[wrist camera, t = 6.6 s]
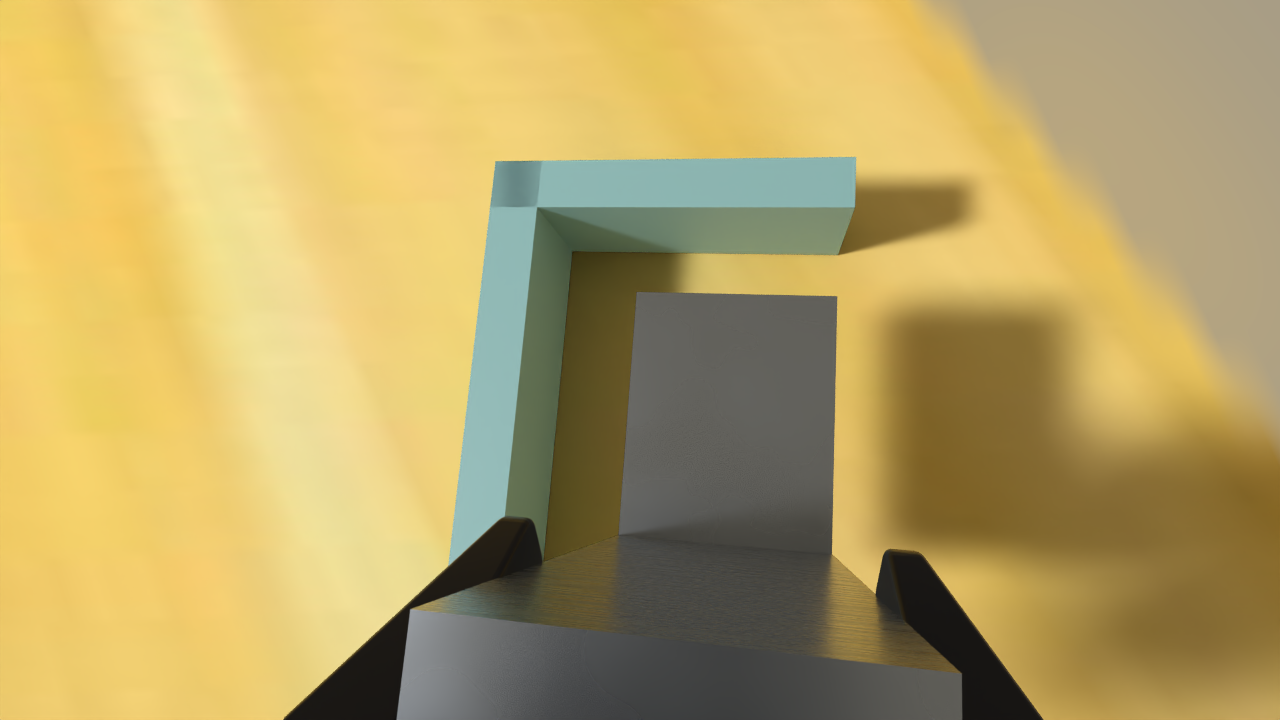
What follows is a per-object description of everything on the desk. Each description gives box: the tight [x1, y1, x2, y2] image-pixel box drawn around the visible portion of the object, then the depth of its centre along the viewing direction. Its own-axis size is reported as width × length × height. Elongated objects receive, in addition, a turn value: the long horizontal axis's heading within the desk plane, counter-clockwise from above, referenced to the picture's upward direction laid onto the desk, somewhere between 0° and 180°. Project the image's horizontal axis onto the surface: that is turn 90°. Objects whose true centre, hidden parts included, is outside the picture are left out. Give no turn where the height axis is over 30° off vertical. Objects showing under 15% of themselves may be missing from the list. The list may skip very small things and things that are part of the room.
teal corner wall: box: [448, 157, 856, 566], centre depth 20 cm, size 16×11×4 cm
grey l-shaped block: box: [397, 292, 962, 720], centre depth 11 cm, size 8×4×10 cm, turn 176°
